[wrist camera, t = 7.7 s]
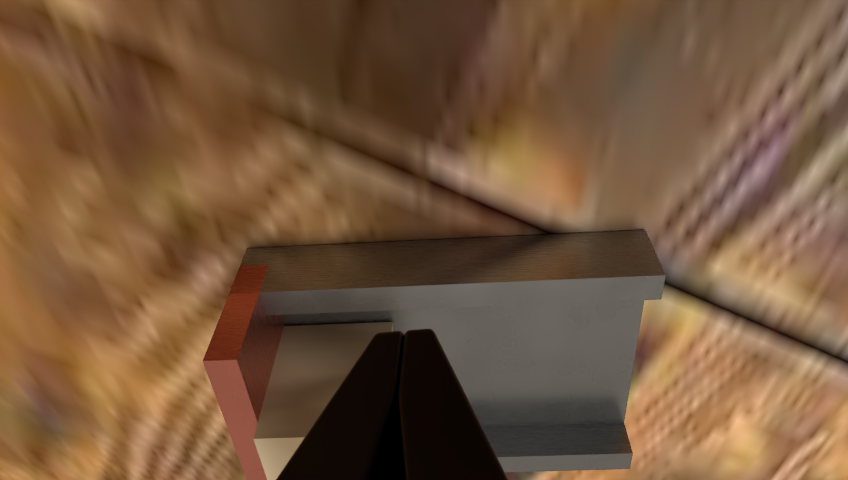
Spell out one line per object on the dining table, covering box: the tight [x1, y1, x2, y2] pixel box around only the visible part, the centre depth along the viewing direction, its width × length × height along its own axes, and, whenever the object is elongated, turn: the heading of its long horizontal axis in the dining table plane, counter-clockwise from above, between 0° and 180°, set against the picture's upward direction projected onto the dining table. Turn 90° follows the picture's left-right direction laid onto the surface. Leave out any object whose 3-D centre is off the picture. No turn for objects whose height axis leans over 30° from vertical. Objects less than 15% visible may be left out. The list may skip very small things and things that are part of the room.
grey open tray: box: [203, 230, 666, 480], centre depth 24 cm, size 14×10×6 cm
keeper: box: [253, 322, 393, 480], centre depth 23 cm, size 4×4×5 cm
